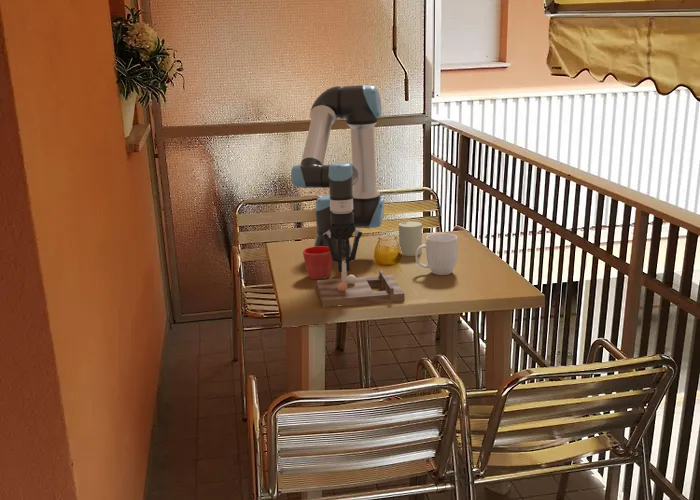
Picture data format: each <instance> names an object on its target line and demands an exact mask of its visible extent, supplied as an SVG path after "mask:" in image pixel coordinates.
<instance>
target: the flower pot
mask: <svg viewBox="0 0 700 500" xmlns="http://www.w3.org/2000/svg"><path fill="white" fill-rule="evenodd" d="M302 254H303V259H304V263H305V268H306V270H307V274H308V277H309V279H313V280H315V279H316V280H322V279H323V280H324V279H327V278H329V277H331V272H332V265H333V260H332V257H331V253H330V250H329V247H326V246H316V247H314V246H311V247H307V248H304V249H303V251H302Z"/></svg>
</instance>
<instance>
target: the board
mask: <svg viewBox="0 0 700 500" xmlns="http://www.w3.org/2000/svg"><path fill="white" fill-rule="evenodd" d="M378 272H379V273H378V275H372V276H359V277H356V282H355V283H354V284H348V283H347V282H345V283H346V284H347V289H346V291H344V292H340V291H339V290H338V288H337V286H338V284H339V283H340V282H342V278H335V279H334V278H333V279H323V280H322V279H317V280H316V289H317V291H318V294H319V298H320V301H321V304H322V308H331V307H330V306H335V307H339V306H338V305H341V306H340V307H343V306H342V305H347V306H357V305H369V304H370V305H371V303H372V304H380V303H381V304H383V303H393V302H392V301H396V302H405V301H406V300H405V292H404V291H403V289H402V288H401V286H400V284H399V283H398V281H397V280H396V278H395V277H394V276H393V274H387V275H386V274H385V272H384V271H383V269H380V270H378ZM378 287H381V288H382V290H379V291H373V290H372V288H378Z"/></svg>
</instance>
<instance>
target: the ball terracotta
mask: <svg viewBox="0 0 700 500" xmlns="http://www.w3.org/2000/svg"><path fill="white" fill-rule="evenodd" d="M337 288H338V290H339V291H340V292H344V291H346V289H347V284H346V283H345V282H340V283H339V284H338V286H337Z"/></svg>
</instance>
